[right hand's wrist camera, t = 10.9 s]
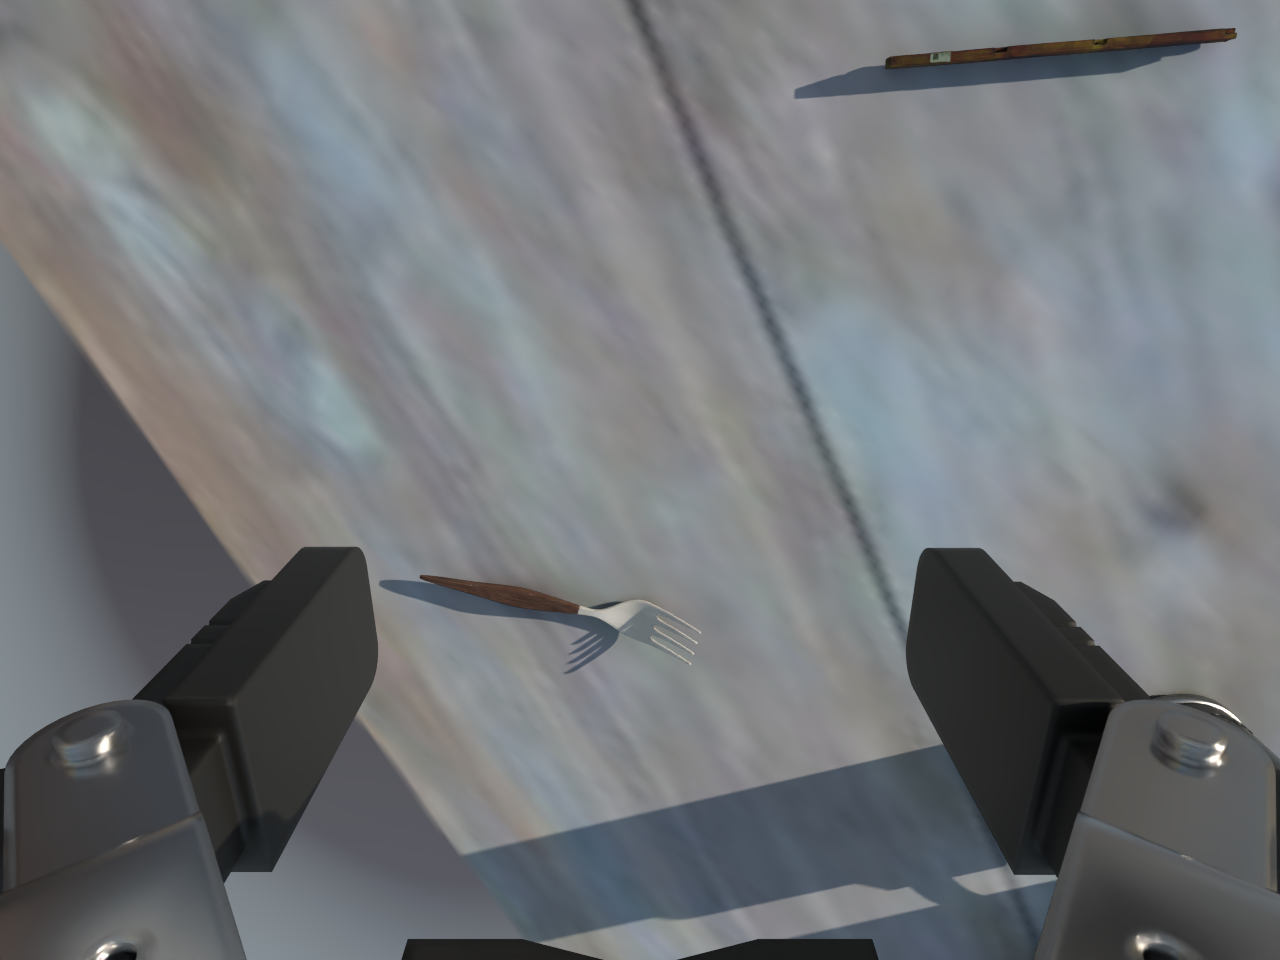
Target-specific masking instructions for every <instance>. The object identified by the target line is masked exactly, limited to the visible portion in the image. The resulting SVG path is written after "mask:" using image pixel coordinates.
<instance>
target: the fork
mask: <svg viewBox="0 0 1280 960" xmlns="http://www.w3.org/2000/svg"><path fill="white" fill-rule="evenodd" d="M420 578H421V579H423V580H425V581H428V582H431V583H435V584H438V585H441V586H445V587H448V588H451V589H455V590H459V591H462V592H466V593H469V594H473V595H476V596H479V597H482V598H486V599H489V600H492V601H496V602H499V603H502V604H506V605H510V606H514V607H519V608H525V609H533V610H542V611H551V612H561V613H571V614H581V615H588V616H593V617H596V618H599V619H601V620H603V621H604V622H606V623H608V624H609V625H611V626H612V627H613V628H615V629H616V630H618V631H620V632H621V633H623V634H625V635H627V636H629V637H631V638H633V639H636V640H638V641H641V642H644V643H647V644H649V645H651V646H654V647H656V648H658V649H660V650H662V651H664V652H666V653H668V654H670V655H672V656H674V657H676V658H678V659H680V660H682V661H684V662H685V663H687V664H688V665H691V663H690V662H689V661H687V660H685V659H684V658H682V657H681V656H679V655H678V654H676V653H675V652H673V651H671V650H670V649H668V648H666V647H665V646H663V645H661V644H660V643H658V642H656V641H655V640H653V639H652V638H651V635H654V636H657V637H659V638H661V639H663V640H666V641H668V642H670V643H672V644H674V645H676V646H678V647H680V648H682V649H684V650H685V651H687V652H689V653H691V654H694V652H692V651H691V650H689V649H688V648H686V647H684V646H683V645H681V644H680V643H678V642H676V641H675V640H673V639H672V638H670V637H668V636H667V635H665V634H663V633H661V632H660V631H658V630H657V629H655V628H654V625H658V626H660V627H663V628H665V629H667V630H669V631H671V632H673V633H675V634H678V635H680V636H682V637H684V638H686V639H688V640H689V641H691V642H693V643H695V644H697V642H696V641H695V640H693V639H691V638H690V637H688V636H687V635H685V634H683V633H682V632H680V631H679V630H677V629H675V628H674V627H672V626H670V625H668V624H667V623H665V622H663V621H662V620H660V619H659V618H658V617H657V615H662V616H665V617H667V618H669V619H671V620H673V621H675V622H678V623H680V624H682V625H684V626H686V627H688V628H690V629H692V630H694V631H696V632H697V633H699V634H700V633H701V632H700V631H699V630H697V629H696V628H694V627H692V626H691V625H689V624H688V623H686V622H684V621H683V620H681V619H679V618H678V617H676V616H674V615H672V614H671V613H669V612H667V611H665V610H663V609H661V608H660V607H658V606H656V605H654V604H652V603H650V602H647V601H644V600H629V601H625V602H622V603H619V604H616V605H613V606H611V607H608V608H604V609H590V608H586V607H583V606H580V605H577V604H573V603H570V602H567V601H564V600H561V599H558V598H555V597H552V596H549V595H546V594H543V593H540V592H537V591H533V590H529V589H525V588H521V587H515V586H508V585H499V584H490V583H481V582H473V581H466V580H459V579H452V578H445V577H437V576H428V575H420Z"/></svg>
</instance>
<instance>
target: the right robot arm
mask: <svg viewBox="0 0 1280 960" xmlns="http://www.w3.org/2000/svg"><path fill="white" fill-rule="evenodd" d="M377 660H378V641H377V634H376V627H375V620H374V613H373V606H372V599H371V592H370V585H369V578H368V571H367V564H366V560H365V556H364V554H363V552H362V550H361V549H360V548H358V547H304V548H302V549H301V550H299V551H298V553H297V554H296V555H295V556H294V557H293V558H292V559H291V560H290V561H289V562H288V563H287V564H286V565H285V567H284V568H283V569H282V570H281V571H280V572H279V573H278V574H277V575H276V576H275V577H274V578H273V579H272V581H262V582H260V583H259V584H257V585H255V586H253V587H252V588H250V589H248V590H246V591H244V592H243V593H241V594H239V595H237V596H236V597H234V598H232V599H231V600H229V602H228V603H227V604H226V605H225V606H224V607H223V608H222V609H221V610H220V611H219V612H218V613H217V614H216V615H215V616H214V617H213V618H212V619H211V620H210V621H209V625H205V626H204V627H203V628H202V629H201V630H200V631H199V632H198V633H197V634H196V635H195V636H194V637H193V638H192V639H191V644H186V645H185V646H184V647H183V648H182V649H181V650H180V651H179V652H178V654H176V655H175V656H174V657H173V658H172V659H171V660H170V661H169V662H168V664H167V665H166V666H165V667H164V668H163V669H162V670H161V671H160V672H159V673H158V674H157V675H156V676H155V677H154V678H153V679H152V680H151V681H150V682H149V683H148V684H147V685H146V686H145V687H144V688H143V689H142V690H141V691H140V692H139V693H138V694H137V695H136V696H135V697H134V698H133V699H132V700H121V701H113V702H108V703H103V704H99V705H96V706H92V707H89V708H85V709H83V710H80V711H77V712H74V713H72V714H70V715H67V716H65V717H63V718H61V719H59V720H57V721H55V722H53V723H51V724H49V725H47V726H46V727H44V728H42V729H41V730H39V731H38V732H36V733H35V734H33V735H32V736H31V737H30V738H28V739H27V740H26V741H25V742H23V743H22V744H21V745H20V746H19V747H18V748H17V749H16V750H15V752H14V753H13V754H12V756H11V757H10V758H9V760H8V762H7V764H6V768H4V769H0V960H247V959H246V956H245V953H244V949H243V946H242V943H241V939H240V936H239V933H238V929H237V926H236V923H235V919H234V916H233V913H232V909H231V906H230V903H229V900H228V896H227V893H226V890H225V886H224V882H225V881H226V879H227V877H228V876H229V874H230V872H272V871H273V869H274V867H275V865H276V863H277V861H278V859H279V858H280V856H281V854H282V852H283V850H284V848H285V846H286V844H287V843H288V841H289V839H290V837H291V835H292V833H293V831H294V830H295V828H296V826H297V824H298V822H299V820H300V818H301V816H302V815H303V813H304V811H305V809H306V807H307V805H308V803H309V801H310V799H311V798H312V796H313V794H314V792H315V790H316V788H317V786H318V785H319V783H320V781H321V779H322V777H323V775H324V773H325V771H326V770H327V768H328V766H329V764H330V762H331V760H332V758H333V757H334V755H335V753H336V751H337V749H338V747H339V745H340V743H341V742H342V740H343V738H344V736H345V734H346V732H347V730H348V729H349V727H350V725H351V723H352V721H353V719H354V717H355V715H356V714H357V712H358V710H359V708H360V706H361V704H362V702H363V700H364V699H365V697H366V695H367V693H368V691H369V689H370V687H371V685H372V683H373V680H374V677H375V673H376V668H377ZM906 661H907V669H908V674H909V678H910V681H911V684H912V686H913V689H914V690H915V692H916V694H917V696H918V698H919V700H920V702H921V703H922V705H923V707H924V709H925V711H926V713H927V714H928V716H929V718H930V720H931V722H932V724H933V726H934V727H935V729H936V731H937V733H938V735H939V737H940V739H941V740H942V742H943V744H944V746H945V748H946V750H947V751H948V753H949V755H950V757H951V759H952V761H953V763H954V764H955V766H956V768H957V770H958V772H959V774H960V775H961V777H962V779H963V781H964V783H965V785H966V787H967V788H968V790H969V792H970V794H971V796H972V798H973V800H974V801H975V803H976V805H977V807H978V809H979V811H980V812H981V814H982V816H983V818H984V820H985V822H986V824H987V825H988V827H989V829H990V831H991V833H992V835H993V836H994V838H995V840H996V842H997V844H998V846H999V848H1000V849H1001V851H1002V853H1003V855H1004V857H1005V859H1006V860H1007V862H1008V864H1009V866H1010V868H1011V870H1012V872H1013V873H1014V875H1056V876H1057V878H1058V880H1057V883H1056V886H1055V890H1054V893H1053V896H1052V900H1051V903H1050V906H1049V909H1048V913H1047V916H1046V919H1045V923H1044V926H1043V929H1042V933H1041V936H1040V939H1039V943H1038V946H1037V949H1036V953H1035V956H1034V959H1033V960H1280V759H1279V758H1278V757H1277V756H1276V755H1275V754H1274V753H1273V752H1272V751H1271V750H1270V749H1268V748H1267V747H1266V746H1265V745H1264V744H1263V743H1262V742H1261V741H1260V740H1258V739H1257V738H1256V737H1255V736H1254V735H1253V733H1252V732H1251V731H1250V730H1249V729H1247V728H1246V727H1245V726H1244V725H1243V724H1242V723H1241V722H1240V721H1239V720H1238V718H1236V717H1235V716H1234V715H1233V714H1232V713H1231V712H1230V711H1229V710H1228V709H1226V708H1225V707H1224V706H1223V705H1221V704H1220V703H1218V702H1216V701H1214V700H1212V699H1209V698H1206V697H1203V696H1198V695H1191V694H1173V695H1166V696H1161V697H1156V698H1153V699H1152V698H1151V697H1150V696H1149V695H1148V694H1147V693H1146V692H1145V691H1144V690H1143V689H1142V688H1141V687H1140V686H1139V685H1138V684H1137V683H1136V682H1135V681H1134V680H1133V679H1132V678H1131V677H1130V676H1129V675H1128V674H1127V673H1126V672H1125V671H1124V670H1123V669H1122V668H1121V667H1120V666H1119V665H1118V664H1117V663H1116V662H1115V661H1114V660H1113V659H1112V658H1111V657H1110V656H1109V655H1108V654H1107V653H1106V652H1105V651H1104V650H1103V649H1102V648H1101V647H1100V646H1095V644H1094V640H1093V639H1092V638H1091V637H1090V636H1089V635H1088V634H1087V633H1086V632H1085V631H1084V630H1083V629H1082V628H1081V627H1076V622H1075V621H1074V620H1073V619H1072V618H1071V617H1070V616H1069V615H1068V614H1067V613H1066V612H1065V611H1064V610H1063V609H1062V608H1061V607H1060V606H1059V605H1058V604H1057V603H1056V602H1055V601H1054V600H1052V599H1051V598H1049V597H1047V596H1045V595H1043V594H1042V593H1040V592H1038V591H1036V590H1035V589H1033V588H1031V587H1029V586H1027V585H1026V584H1024V583H1022V582H1013V581H1012V580H1011V579H1010V577H1009V576H1008V575H1007V574H1006V573H1005V572H1004V571H1003V570H1002V569H1001V568H1000V567H999V566H998V565H997V564H996V563H995V561H994V560H993V559H992V558H991V557H990V556H989V555H988V554H987V553H986V552H985V551H984V550H983V549H981V548H926V549H925V550H924V551H923V552H922V554H921V556H920V558H919V562H918V567H917V573H916V580H915V587H914V594H913V601H912V608H911V614H910V621H909V628H908V635H907V643H906ZM402 960H602V959H598V958H594V957H590V956H586V955H582V954H578V953H574V952H570V951H566V950H563V949H559V948H555V947H551V946H547V945H543V944H539V943H535V942H531V941H527V940H523V939H408V940H407V944H406V947H405V950H404V953H403V957H402ZM678 960H878V957H877V953H876V950H875V947H874V943H873V940H872V939H757V940H753V941H749V942H745V943H741V944H737V945H733V946H729V947H725V948H721V949H717V950H714V951H710V952H706V953H702V954H698V955H694V956H690V957H686V958H682V959H678Z"/></svg>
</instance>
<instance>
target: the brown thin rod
mask: <svg viewBox="0 0 1280 960" xmlns="http://www.w3.org/2000/svg"><path fill="white" fill-rule="evenodd" d="M1236 36H1237V33H1235V28H1229V29H1225V28H1224V29H1211V30H1201V31H1187V32H1176V33H1165V34H1154V35H1141V36H1129V37H1118V38H1108V39H1101V40H1095V39H1094V40H1082V41H1069V42H1055V43H1042V44H1031V45H1019V46H1009V47H1002V48H985V49H974V50H963V51H945V52H935V53H928V54H916V55H903V56H892V57H889V58H887V59H886V67H885V69H897V68H909V67H923V66H936V65H948V64H961V63H974V62H985V61H997V60H1009V59H1019V58H1030V57H1042V56H1056V55H1069V54H1081V53H1093V52H1105V51H1118V50H1130V49H1141V48H1152V47H1165V46H1177V45H1188V44H1201V43H1214V42H1226V41H1228V40H1231V39H1235V38H1236Z"/></svg>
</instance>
